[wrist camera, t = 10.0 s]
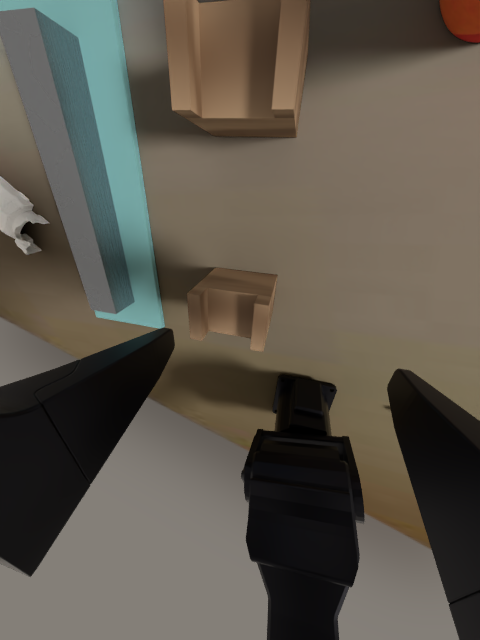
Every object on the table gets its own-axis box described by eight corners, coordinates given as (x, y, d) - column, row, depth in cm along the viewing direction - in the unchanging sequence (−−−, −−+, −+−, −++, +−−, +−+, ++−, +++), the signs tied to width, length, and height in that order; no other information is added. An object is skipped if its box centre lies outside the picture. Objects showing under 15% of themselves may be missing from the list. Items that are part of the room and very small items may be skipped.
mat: (164, 326, 27) (162, 328, 27) (100, 314, 29) (96, 317, 28) (112, -32, 14) (104, -41, 13) (-3, -17, 15) (-13, -24, 15)
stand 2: (272, 313, 23) (263, 351, 17) (215, 304, 24) (190, 338, 18) (277, 275, 21) (268, 305, 15) (215, 267, 22) (186, 293, 16)
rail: (134, 301, 26) (116, 314, 23) (111, 298, 26) (91, 309, 24) (78, 37, 15) (34, 7, 13) (42, 40, 16) (-8, 11, 13)
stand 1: (296, 137, 16) (293, 109, 10) (214, 136, 17) (172, 110, 11) (307, 53, 14) (312, -38, 8) (213, 58, 15) (161, -21, 9)
